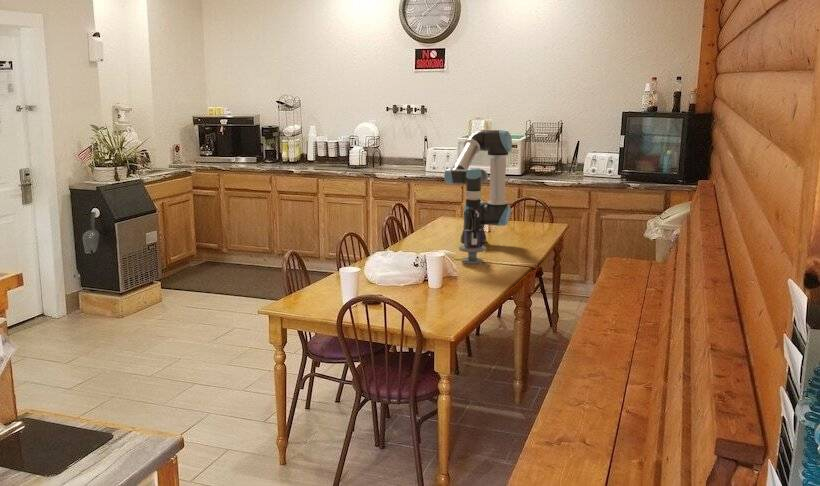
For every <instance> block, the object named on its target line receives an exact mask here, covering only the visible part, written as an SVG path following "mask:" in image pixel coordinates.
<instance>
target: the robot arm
mask: <svg viewBox="0 0 820 486" xmlns="http://www.w3.org/2000/svg"><path fill="white" fill-rule="evenodd" d="M512 148H513V141H512V136H511V133H510V132H509V131H508V130H503V129H492V130H491V129H481V130H478V131H476V132H474V133H472V134H471V135H469V136H468V137H467V138H466V139H465V141H464V143H463V148H462V150H461V152H460V153H459V156H458V157H457V159H456V161H455V163H454V164H453V167H452V168H446V169H445V171H444V173H443V174H444V176H443V177H444V182H445V183H446V184H452V185H453V184H454V185H455V184H457V185H465V189H466V190H465V191H466V192H465V198H466V199H465V204H464V205H463V206H464V208H463V230H462V233H461V235H460V243H463V244H464V230H473V231H471V232H472V245H477V232H479V229H481V230H482V244H485V243H487V235H486V231H485V227H484V226H487V225H488V226H497V227H501V226H502V227H503V226H504V227H505V226H507V225H508V223H509V221H510V217H511V211H512V209H511V206H510V205H508V201H507V200H506V170H507V169H506V164H507V163H506V162H507V157H508V156H509V153H510V152H512V150H513V149H512ZM480 152H487V156H488V157H489V158H490V160H489V174H488V172H487V171H486V170H484V169H481V168H480V167H479V168H478V167H470V166H471V164H472V162H473V160H474V158H475V156H476V155H477V154H478V153H480ZM469 167H470V168H469ZM488 178H489V200H488V201H487V202H486V204H485V201H482V200H481V198H482V185H483V184H485V183H486V182H487V181H488ZM471 228H472V229H471Z"/></svg>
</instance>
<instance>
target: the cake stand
mask: <svg viewBox="0 0 820 486" xmlns="http://www.w3.org/2000/svg"><path fill="white" fill-rule="evenodd" d="M458 250H459V251H460V252H464V253H467V257H463V258H461V263H463V264H465V265H467V264H468V265H479V264H482V263H483V262H484V259H483V258H481V257H477V255H478V254H477V253H483V252H486V251H487V247H486V246H485V245H482V247H464V244H462V245H460V246H458Z"/></svg>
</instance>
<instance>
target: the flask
mask: <svg viewBox="0 0 820 486" xmlns="http://www.w3.org/2000/svg"><path fill="white" fill-rule="evenodd" d="M471 229H472V228H471ZM471 231H473V230H464V243H463V245H464V247H482V246H483V243H482V230H481V229H479V232H477V245H472V232H471Z"/></svg>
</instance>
